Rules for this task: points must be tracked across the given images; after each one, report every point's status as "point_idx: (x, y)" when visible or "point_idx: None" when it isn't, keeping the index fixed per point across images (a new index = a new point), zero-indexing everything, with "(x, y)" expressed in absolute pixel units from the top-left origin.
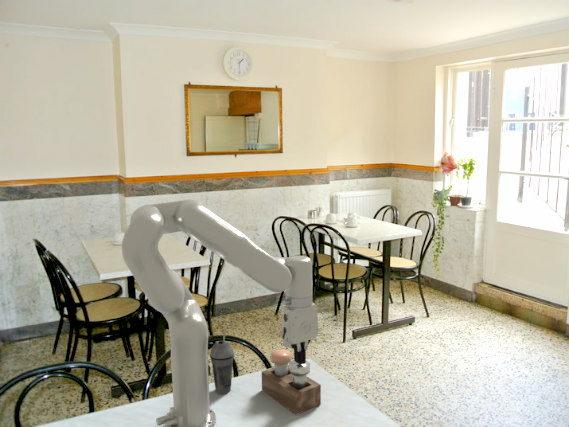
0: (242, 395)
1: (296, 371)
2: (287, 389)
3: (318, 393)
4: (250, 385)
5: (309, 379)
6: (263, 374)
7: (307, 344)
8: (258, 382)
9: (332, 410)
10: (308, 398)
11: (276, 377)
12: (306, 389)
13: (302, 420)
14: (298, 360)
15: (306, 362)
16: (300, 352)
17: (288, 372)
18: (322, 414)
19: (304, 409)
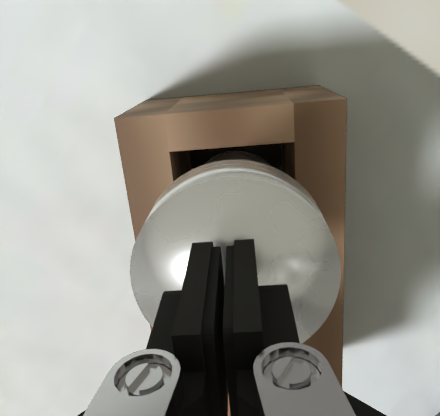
0: (418, 362)
1: (315, 206)
2: (344, 192)
3: (147, 107)
4: None
5: (145, 220)
6: None
7: (95, 414)
8: None
9: (120, 9)
10: (228, 101)
11: (310, 344)
12: (237, 119)
13: (321, 16)
14: (270, 286)
15: (153, 274)
16: (262, 332)
17: None
18: (191, 5)
19: (258, 92)
